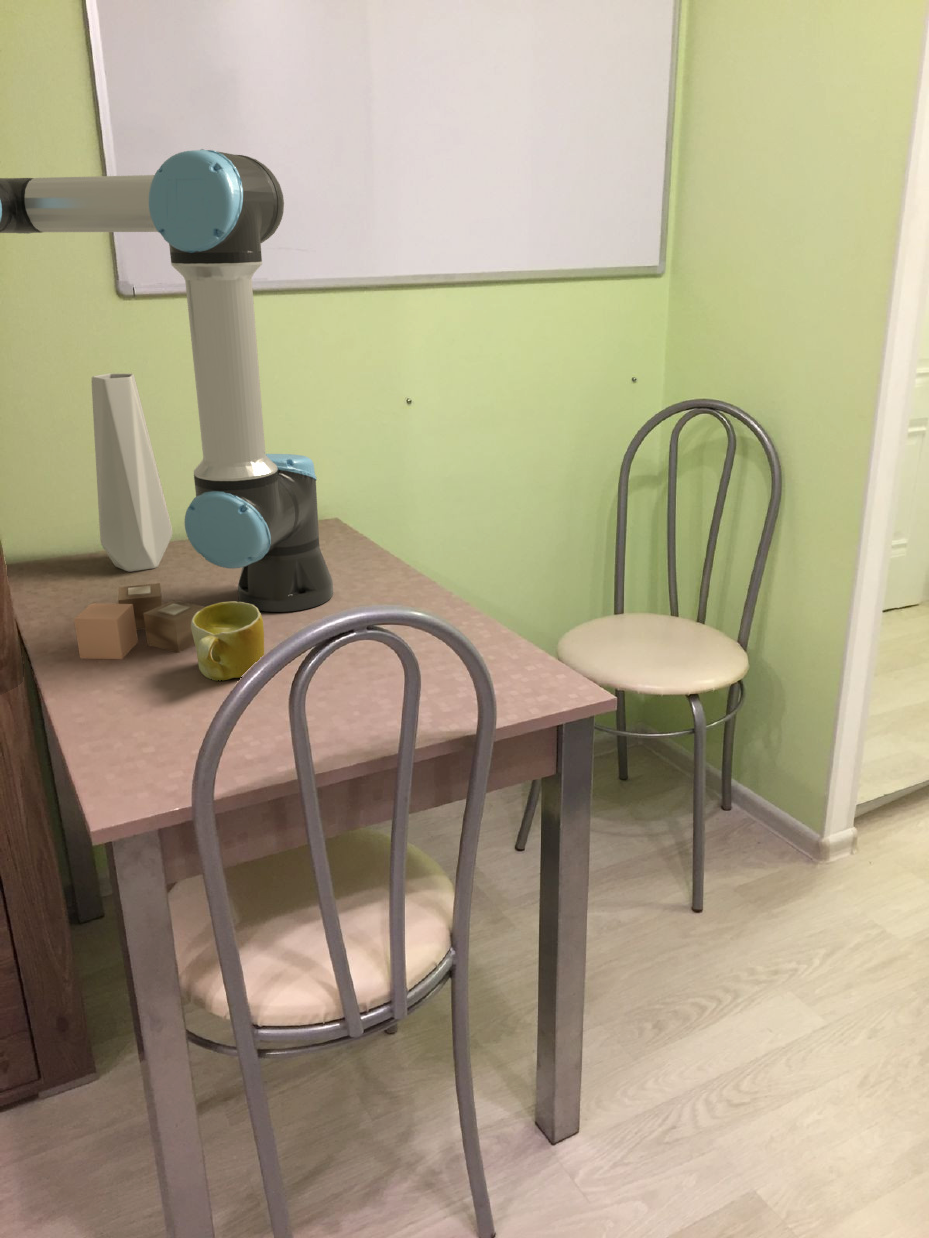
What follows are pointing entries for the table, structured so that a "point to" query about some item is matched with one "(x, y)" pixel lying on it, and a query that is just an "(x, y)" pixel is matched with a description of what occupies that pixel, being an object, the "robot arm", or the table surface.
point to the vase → (127, 477)
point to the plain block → (106, 631)
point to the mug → (227, 639)
